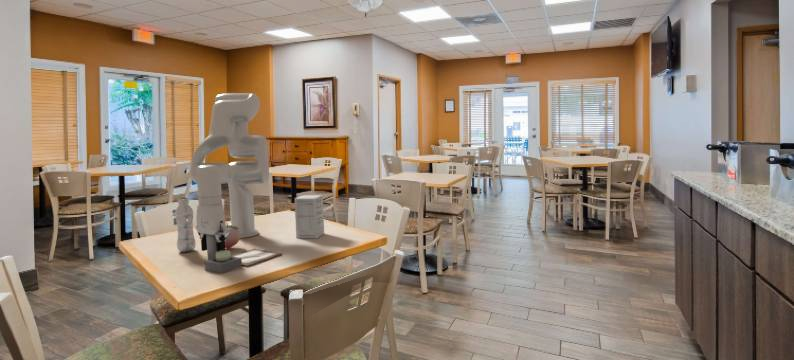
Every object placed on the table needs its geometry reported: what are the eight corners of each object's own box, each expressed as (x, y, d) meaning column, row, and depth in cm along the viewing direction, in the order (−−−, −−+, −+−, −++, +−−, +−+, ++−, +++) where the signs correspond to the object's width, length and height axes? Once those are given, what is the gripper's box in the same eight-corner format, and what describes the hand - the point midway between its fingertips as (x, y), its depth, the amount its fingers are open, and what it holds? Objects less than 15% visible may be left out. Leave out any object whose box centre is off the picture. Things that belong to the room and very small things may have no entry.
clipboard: (218, 261, 158) (218, 258, 158) (254, 250, 171) (253, 247, 171) (247, 267, 151) (247, 264, 151) (281, 255, 165) (281, 252, 164)
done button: (213, 260, 149) (212, 252, 148) (224, 257, 152) (223, 249, 152) (222, 262, 146) (221, 254, 146) (233, 258, 150) (232, 251, 150)
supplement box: (324, 233, 197) (323, 194, 195) (317, 238, 188) (316, 198, 186) (303, 232, 199) (302, 194, 197) (295, 238, 189) (293, 198, 188)
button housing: (205, 270, 148) (204, 261, 148) (225, 263, 155) (224, 254, 155) (221, 273, 144) (221, 264, 144) (241, 266, 151) (241, 258, 151)
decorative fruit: (243, 245, 180) (241, 220, 178) (239, 250, 171) (238, 224, 170) (217, 246, 178) (216, 221, 177) (213, 252, 170) (211, 225, 169)
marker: (205, 260, 159) (202, 227, 157) (215, 257, 162) (212, 224, 161) (213, 262, 157) (210, 228, 155) (222, 259, 160) (220, 225, 159)
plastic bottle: (177, 254, 167) (173, 200, 165) (177, 250, 173) (173, 198, 171) (196, 252, 170) (193, 199, 168) (195, 248, 176) (192, 196, 174)
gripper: (184, 200, 158) (187, 250, 160) (218, 204, 150) (221, 257, 152) (203, 197, 165) (206, 245, 167) (236, 201, 156) (239, 251, 158)
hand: (213, 250), depth 159 cm, fingers open, 7 cm apart
